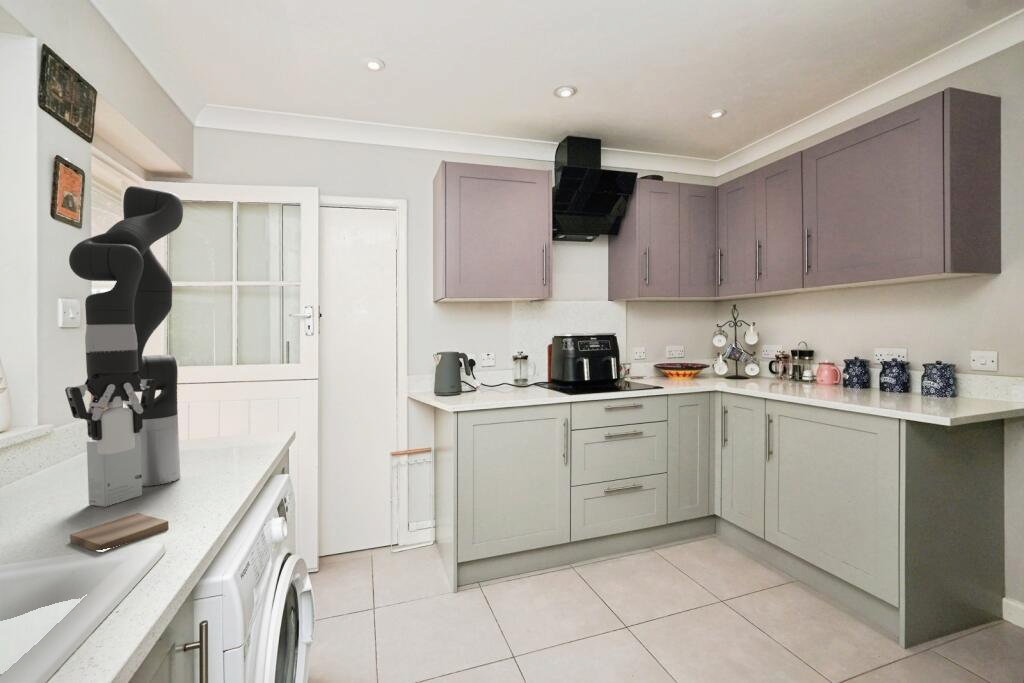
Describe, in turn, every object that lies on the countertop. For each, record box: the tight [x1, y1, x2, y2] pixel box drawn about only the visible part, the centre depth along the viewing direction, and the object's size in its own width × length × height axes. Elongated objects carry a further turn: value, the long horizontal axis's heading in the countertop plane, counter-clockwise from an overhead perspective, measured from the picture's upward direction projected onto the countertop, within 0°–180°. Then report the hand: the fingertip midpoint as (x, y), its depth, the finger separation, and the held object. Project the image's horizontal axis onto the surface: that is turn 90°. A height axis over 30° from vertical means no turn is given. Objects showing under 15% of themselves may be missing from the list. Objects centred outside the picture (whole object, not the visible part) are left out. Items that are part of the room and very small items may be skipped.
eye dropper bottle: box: [97, 396, 135, 455], centre depth 89 cm, size 4×6×12 cm
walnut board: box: [69, 512, 169, 551], centre depth 90 cm, size 11×11×2 cm
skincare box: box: [86, 435, 143, 508], centre depth 109 cm, size 8×6×15 cm
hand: (116, 435), depth 89 cm, fingers closed on eye dropper bottle, 5 cm apart
